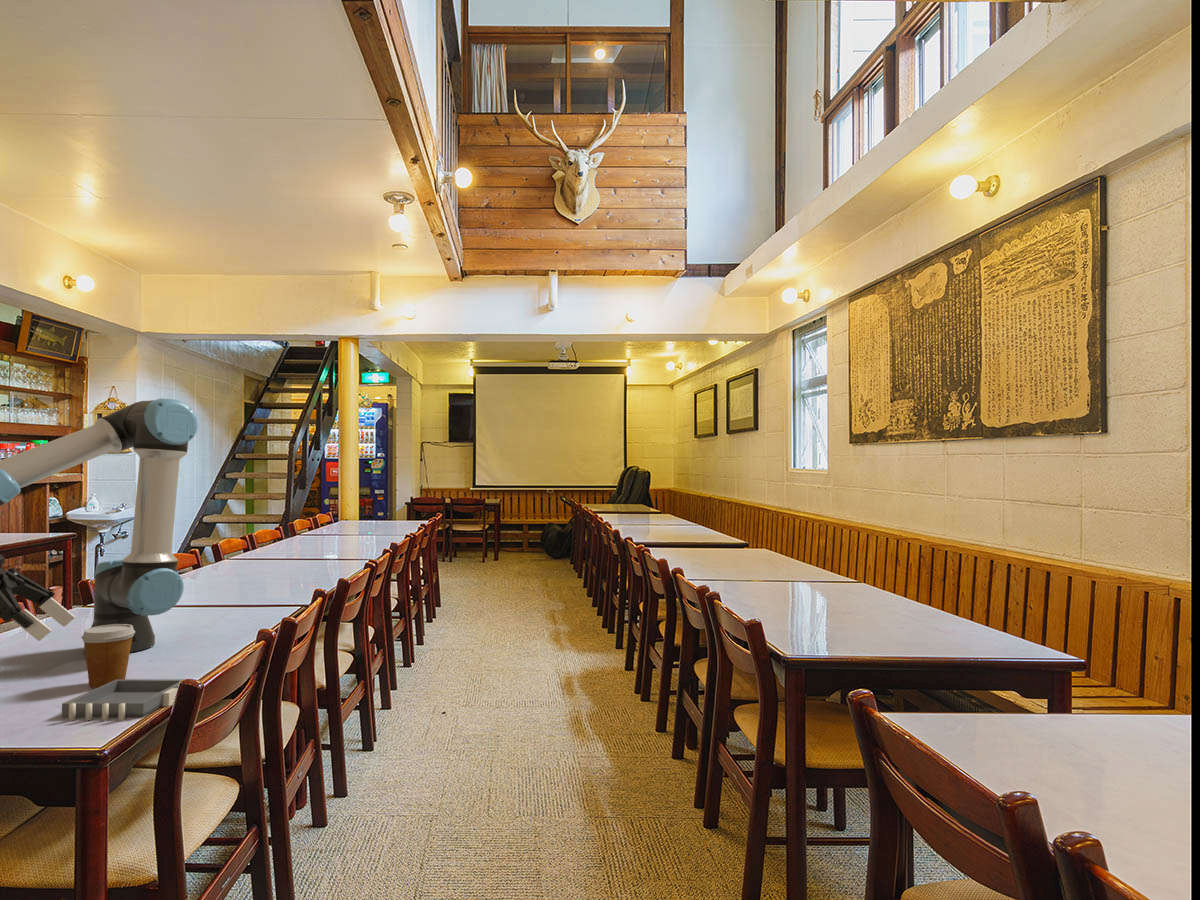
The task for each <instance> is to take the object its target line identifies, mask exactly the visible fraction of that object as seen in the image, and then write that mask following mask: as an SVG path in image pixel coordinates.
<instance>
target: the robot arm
mask: <svg viewBox="0 0 1200 900" xmlns="http://www.w3.org/2000/svg"><path fill="white" fill-rule="evenodd" d="M198 429H199V422H198V418H197V414H196V413H195V411H194V410H193V409H192V408H191V407H190V406H189V405H188V404H186V403H185V402H183V401H181V400H178V399H174V398H173V399H171V398H157V399H153V400H152V399H151V400H141V401H137V402H134V403H132V404H129V405H127V406H125V407H123V408H121V409H118V410H116V411H114V412H112V413H110V414H107V415H104V416H102V417H100V418H97V419H96V420H95V423H94V424H92V425H90V426H88V427H85V428H82V429H80V430H77V431H74V432H72V433H70V434H66V435H64V436H61V437H58V438H55V439H54V440H51V441H48V442H46V443H43V444H40V445H37V446H35V447H31V448H30V449H27V450H24V451H22V452H19V453H16V454H14V455H12V456H8V457H5V458H3V459H1V460H0V507H2V506H3V505H5V504H8V503H9V502H10V501H11V500H13V499H14V498H15V497H17V496H18V495H20V493H21V491H22V490H21V489H22V488H24V487H28V486H29V485H32V484H34V483H37V482H39V481H41V480H43V479H46V478H49V477H51V476H54V475H57V474H58V473H61V472H65V471H67V470H68V469H72V468H73V467H76V466H78V465H80V464H83V463H86V462H88V461H90V460H93V459H96V458H99V457H100V456H103V455H105V454H108V453H110V452H113V453H116V454H117V453H118V454H119V453H121V452H123V451H125V450H128V449H132V450H133V452H134V453H135V454H136V455H137V456H138V457H139V461H138V463H139V464H138V475H137V484H136V495H135V505H134V516H133V526H132V528H133V529H132V536H131V537H132V539H131V548H130V549H131V550H130V553H129V554H128V555H126V556H125V557H124V558H123V559H119V560H109V561H102V562H98V564H97V565H96V566H95V571H94V575H93V578H94V593H93V594H94V595H93V597H94V599H93V620H92V621H93V622H92V624H91V627H90V628H92V627H97V626H103V625H112V624H129V625H132V626H133V629H134V631H135V633H134V636H133V637H132V643H131V649H130V652H131V653H134V652H133V651H137V652H140V651H139V650H141V651H144V650H143V649H145V650H147V649H146V648H148V649H150V648H152V647H154V646H155V645H156V644H155V643H156V636H155V633H154V630H153V627H152V625H151V624H152V623H151V620H150V618H149V616H150V617H151V616H159V615H162V614H164V613H166V612H169V611H170V610H171V609H173V608H174V607H175V606H176V605H177V604H178V603H179V601H180V600H181V598H182V597H183V593H184V580H183V578H182V576H181V575H180V574H179V573H178V558H177V557H176V556H175V555H174V554H173V553H172V548H173V540H174V539H173V537H174V525H175V515H176V514H175V513H176V506H177V505H176V504H177V495H178V493H177V492H178V483H179V482H178V481H179V471H180V460H181V459H182V458H184V457H185V456H186V455H188V449H189V442H190V441H191V440H192V439H193V438H194V437H195V435H196V434H197V433H198V432H197V431H198ZM5 562H6V558H5V557H4V556H3V555H2V554H0V619H1V620H2V621H3V622H4V623H9V621H11V620H12V621H13V622H14V623H15V624H16V625H18V626H19V627H20V628H21V629H22V630H25V632H26V633H28V634H29V635H30V636H32V637H33V638H34V639H36V640H37V641H39V642H40V641H42V640H43V639H44V638H45V637H46V636H48V635H49V633H51V632H52V631H53V629H51V628H50V627H49V626H48V625H47V624H46V623H44V622H43V621H41V620H40V619H39V618H38V617H37V616H35V615H34V614H33V613H31V611H29V610H28V609H27V608H24V609H22V607H21V605H20V604H19V602H18V600H17V598H16V597H15V595H16V596H18V597H21V598H23V599H25V600H27V601H30V602H33V603H34V604H37V605H38V606H39V608H40V609H41V610H42V611H43V612H45V614H47V615H48V616H49V617H51V618H52V619H53V620H54V621H55V622H57V623H58V624H59V625H60V626H62V627H63V628H64V627H67V625H68V624H70V623H71V622H72V621H73V620H74V619H75V618H76V616H75V615H74V614H73V613H71V612H70V611H69V610H67V608H66V607H64V606H62V604H60V603H59V602H58V601H56V599H54V598H53V597H54V596H55V595H56V594H55V592H54V591H51V590H50V589H47V588H45V587H44V586H42V585H41V584H39V583H37V582H35V581H33V580H32V579H31V578H28V577H27V576H25V575H24V574H22V573H20V572H19V571H18V570H16V569H15V568H13V567H9V568H8V569H7V570H6V569H4V568H2V566H3V565H4V564H5ZM154 644H155V645H154ZM153 645H154V646H153ZM151 646H152V647H151ZM149 647H150V648H149ZM83 653H84V654H85V646H84V645H83Z"/></svg>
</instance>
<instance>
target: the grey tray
mask: <svg viewBox="0 0 1200 900" xmlns="http://www.w3.org/2000/svg"><path fill="white" fill-rule="evenodd" d="M185 679H186V678H185ZM185 679H184V678H182V679H180V678H179V679H175V678H174V679H171V678H169V679H167V678H166V679H165V678H164V679H162V678H161V679H159V678H158V679H157V678H155V679H154V678H153V679H152V678H151V679H149V678H145V679H144V678H143V679H137V678H136V679H135V678H134V679H129V678H125V679H116V680H114V681H112V682H109V683H107V684H105V685H103V686H100V687H98V688H93V689H92V690H89V691H87V692H85V693H82V694H81V695H78V696H76V697H74V698H71V699H69V700H66V701H65V702H62V703H61V718H62V717H69V718H68V722H73V721H72V720H75V721H76V718H75V717H85V718H84V721H85V720H86V721H85V722H89V721H88V720H91V721H92V720H93V718H101V722H106V721H105V720H107V721H109V718H117V721H118V722H123V720H124V721H125V720H126V718H145V717H146V716H148V715H150V714H151V713H153V711H154V712H156V711H157V710H159V709H161V708H162V707H161V706H163V707H170V706H172V705H174V704H173V701H174V698H175V696H176V693H177V690H178V685H179V682H180V681H181V680H185ZM160 707H161V708H160ZM158 708H159V709H158ZM156 709H157V710H156Z"/></svg>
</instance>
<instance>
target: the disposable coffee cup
mask: <svg viewBox="0 0 1200 900" xmlns="http://www.w3.org/2000/svg"><path fill="white" fill-rule="evenodd" d="M134 633H135V631H134V629H133V626H132V625H129V624H112V625H103V626H97V627H92V628H91V627H89V628H87V629H84V632H83V634H82V636H81V639H82V642H83V643H84V644H83V647H84V646H85V653H86V654H85V653H84V654H85V660H86V669H87V678H88V685H89V686H88V687H89V688H91V689H96V688H98V687H100V686H103V685H105V684H107V683H109V682H112V681H114V680H116V679H126V678H127V677H126V675H127V671H128V665H129V659H130V654H131V653H130V649H131V643H132V637H133V636H134Z"/></svg>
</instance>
